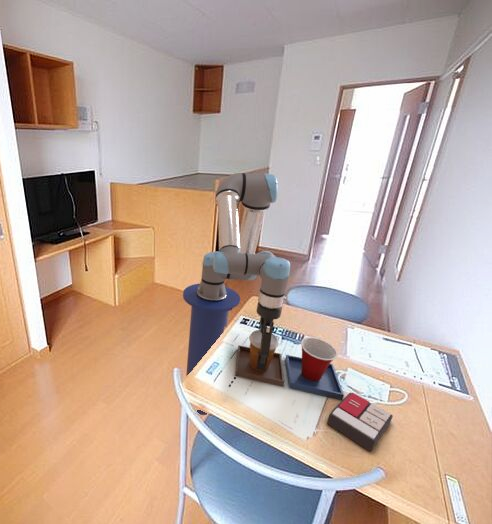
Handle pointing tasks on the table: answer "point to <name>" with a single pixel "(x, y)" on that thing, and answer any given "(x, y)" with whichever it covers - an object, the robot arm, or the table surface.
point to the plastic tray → (322, 387)
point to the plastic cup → (316, 357)
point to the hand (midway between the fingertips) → (260, 356)
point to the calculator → (360, 420)
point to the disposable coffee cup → (255, 347)
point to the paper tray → (269, 376)
